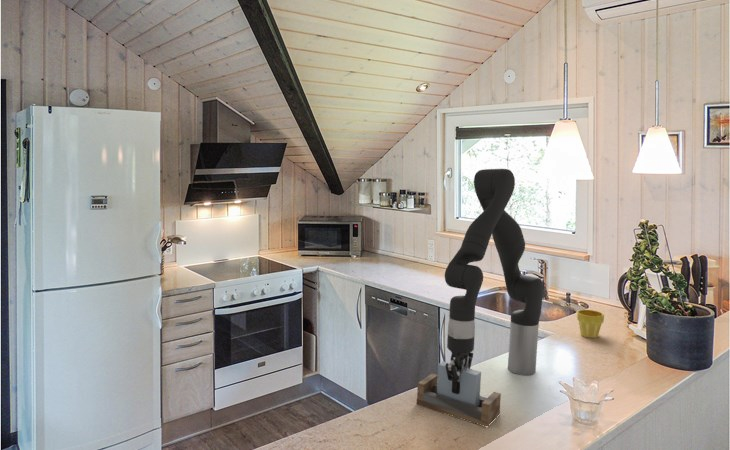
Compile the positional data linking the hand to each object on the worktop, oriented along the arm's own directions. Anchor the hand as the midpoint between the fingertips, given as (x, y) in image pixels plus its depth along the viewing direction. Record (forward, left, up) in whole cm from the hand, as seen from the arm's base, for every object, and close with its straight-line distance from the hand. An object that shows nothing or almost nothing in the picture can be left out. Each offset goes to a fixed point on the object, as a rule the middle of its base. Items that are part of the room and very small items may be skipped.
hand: (458, 390), depth 150 cm
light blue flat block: (0, 0, -3) cm, 3 cm away
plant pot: (-94, +15, -6) cm, 95 cm away
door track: (0, 0, -6) cm, 6 cm away
